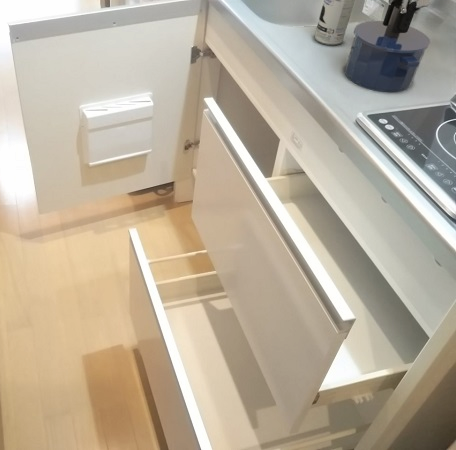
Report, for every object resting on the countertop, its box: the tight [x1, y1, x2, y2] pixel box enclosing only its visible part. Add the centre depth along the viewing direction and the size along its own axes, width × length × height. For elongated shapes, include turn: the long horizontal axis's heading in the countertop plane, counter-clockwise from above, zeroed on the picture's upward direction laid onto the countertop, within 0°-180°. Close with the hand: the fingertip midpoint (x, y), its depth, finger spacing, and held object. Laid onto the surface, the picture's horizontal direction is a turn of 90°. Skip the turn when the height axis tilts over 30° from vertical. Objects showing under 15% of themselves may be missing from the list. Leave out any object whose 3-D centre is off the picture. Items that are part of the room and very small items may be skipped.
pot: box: [344, 36, 426, 93], centre depth 108 cm, size 14×19×8 cm
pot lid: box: [353, 4, 431, 53], centre depth 103 cm, size 15×15×7 cm
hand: (394, 27), depth 103 cm, fingers closed on pot lid, 2 cm apart
